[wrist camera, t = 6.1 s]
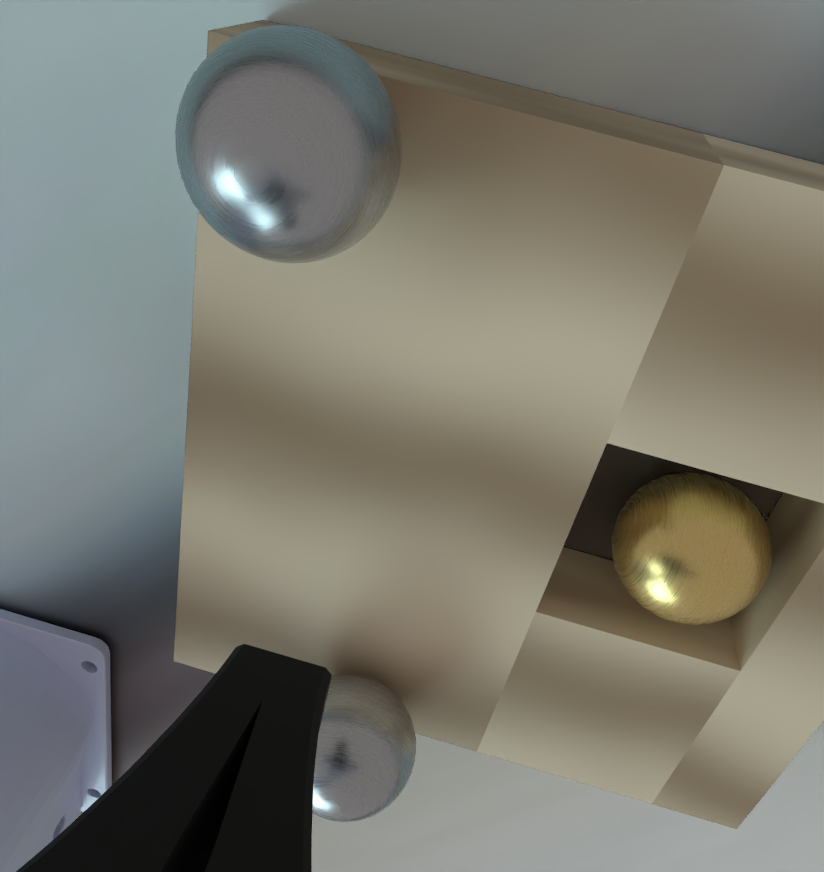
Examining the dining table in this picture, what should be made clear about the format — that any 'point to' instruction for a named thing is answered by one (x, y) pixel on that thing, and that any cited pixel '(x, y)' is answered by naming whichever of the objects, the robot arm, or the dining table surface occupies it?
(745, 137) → the dining table surface
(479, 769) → the dining table surface
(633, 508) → the ball
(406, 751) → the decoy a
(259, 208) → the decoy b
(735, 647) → the plate
